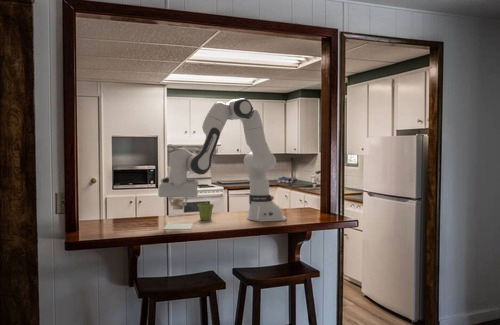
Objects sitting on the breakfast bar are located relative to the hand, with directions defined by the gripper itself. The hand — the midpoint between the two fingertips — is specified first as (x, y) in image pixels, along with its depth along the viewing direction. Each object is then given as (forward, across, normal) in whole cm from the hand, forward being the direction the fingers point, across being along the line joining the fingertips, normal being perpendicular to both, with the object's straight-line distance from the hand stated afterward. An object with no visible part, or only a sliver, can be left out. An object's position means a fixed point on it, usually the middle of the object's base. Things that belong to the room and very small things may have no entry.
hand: (178, 205), depth 222 cm
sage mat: (+11, 0, 0) cm, 11 cm away
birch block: (+2, 0, 0) cm, 2 cm away
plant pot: (+11, -13, -21) cm, 27 cm away
